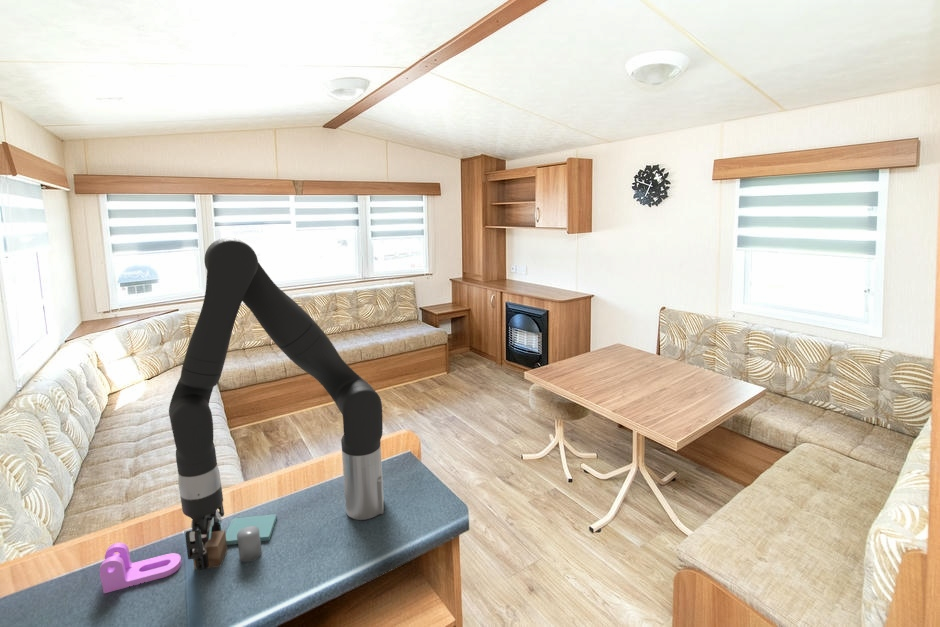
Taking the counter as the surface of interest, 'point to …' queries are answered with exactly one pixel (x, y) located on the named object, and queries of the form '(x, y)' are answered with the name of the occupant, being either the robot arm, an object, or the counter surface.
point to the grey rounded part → (249, 543)
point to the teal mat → (261, 522)
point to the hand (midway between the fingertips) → (210, 553)
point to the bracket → (133, 568)
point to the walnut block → (215, 548)
